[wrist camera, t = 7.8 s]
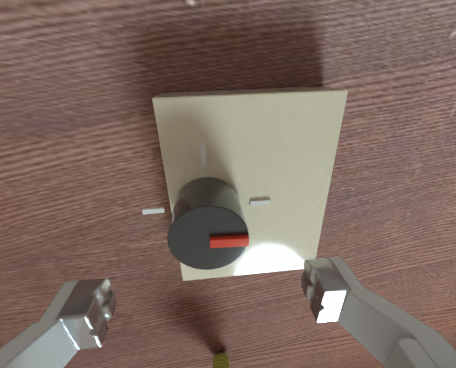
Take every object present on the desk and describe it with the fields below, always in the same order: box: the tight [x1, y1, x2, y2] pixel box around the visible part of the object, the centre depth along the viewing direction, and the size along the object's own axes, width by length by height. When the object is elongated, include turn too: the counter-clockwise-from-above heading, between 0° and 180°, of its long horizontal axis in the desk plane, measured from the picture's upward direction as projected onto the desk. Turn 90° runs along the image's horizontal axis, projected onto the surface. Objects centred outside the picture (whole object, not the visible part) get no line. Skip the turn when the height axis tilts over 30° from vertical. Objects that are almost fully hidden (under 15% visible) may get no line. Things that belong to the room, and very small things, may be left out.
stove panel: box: [142, 86, 348, 281], centre depth 17 cm, size 14×13×3 cm
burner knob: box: [167, 177, 249, 270], centre depth 14 cm, size 4×4×4 cm
